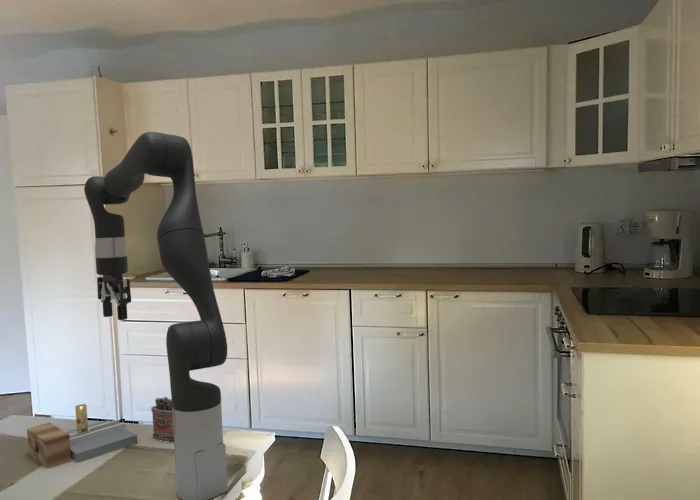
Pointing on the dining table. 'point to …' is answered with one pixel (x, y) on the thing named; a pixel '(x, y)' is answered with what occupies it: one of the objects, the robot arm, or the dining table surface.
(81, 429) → the bolt
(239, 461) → the dining table surface
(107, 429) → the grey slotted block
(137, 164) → the robot arm
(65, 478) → the dining table surface
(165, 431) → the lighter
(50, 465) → the jamb keeper
